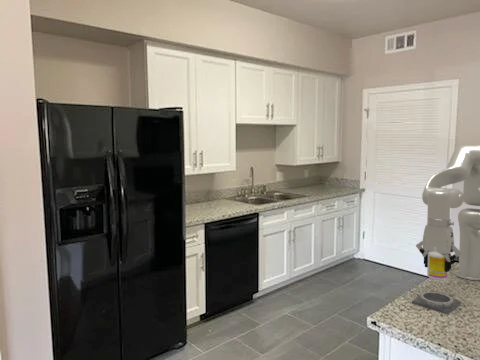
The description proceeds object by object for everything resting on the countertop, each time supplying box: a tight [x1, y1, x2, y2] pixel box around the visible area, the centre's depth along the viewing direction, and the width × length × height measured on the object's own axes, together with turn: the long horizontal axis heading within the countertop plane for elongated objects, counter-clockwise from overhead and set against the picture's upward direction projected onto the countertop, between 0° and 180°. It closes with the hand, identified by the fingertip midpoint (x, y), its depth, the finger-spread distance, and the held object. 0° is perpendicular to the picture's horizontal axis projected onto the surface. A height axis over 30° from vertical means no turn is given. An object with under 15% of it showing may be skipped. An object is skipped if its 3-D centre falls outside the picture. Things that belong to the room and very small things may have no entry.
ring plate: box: [411, 291, 462, 315], centre depth 141 cm, size 13×13×2 cm
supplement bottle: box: [426, 247, 448, 281], centre depth 140 cm, size 7×7×13 cm
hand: (437, 268), depth 140 cm, fingers closed on supplement bottle, 6 cm apart
